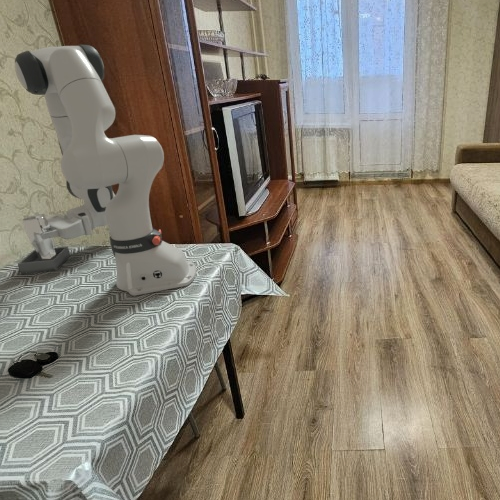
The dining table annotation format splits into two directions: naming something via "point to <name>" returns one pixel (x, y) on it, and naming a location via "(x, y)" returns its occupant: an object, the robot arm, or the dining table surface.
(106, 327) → the dining table surface
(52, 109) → the robot arm
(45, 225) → the silver tall rounded piece
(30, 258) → the box
